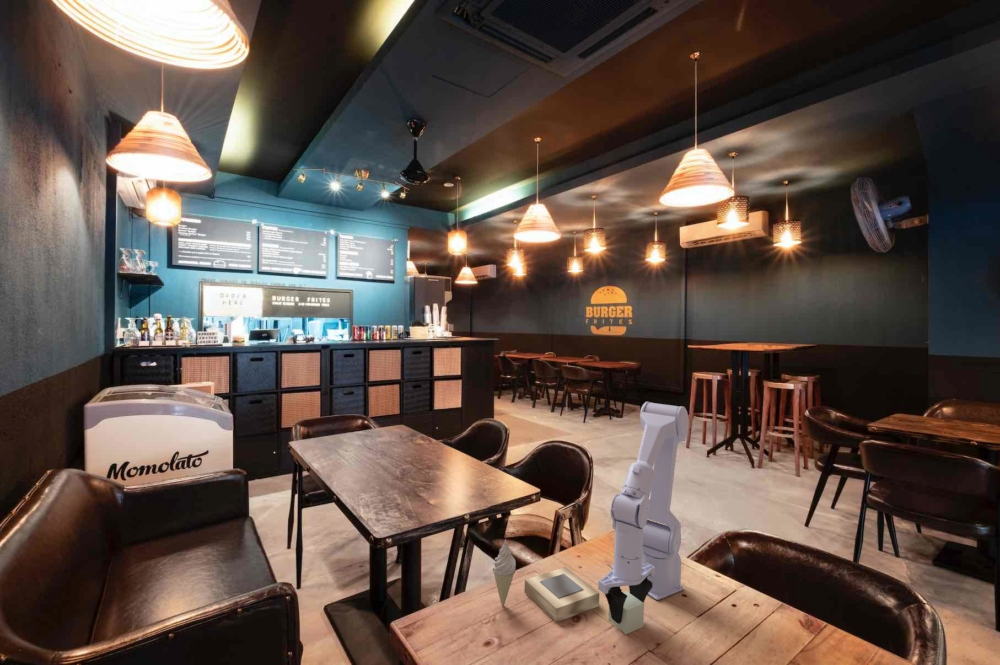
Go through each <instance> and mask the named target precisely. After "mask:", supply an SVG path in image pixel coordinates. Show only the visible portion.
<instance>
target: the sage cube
mask: <svg viewBox="0 0 1000 665" xmlns="http://www.w3.org/2000/svg"><path fill="white" fill-rule="evenodd" d="M622 592H623V593H624V594H626V595H627V598H626V600H625V603H624V606H623V613H622V621H621V623H619V624H618V623H616V622H615V621H614V620H613V619H612V618H611V612H610V608H609V607H608V621H609V622H610V623H611V624H613V625H614V626H615V627H616V628H617V629H618V630H620V631H621V632H622V633H623V634H625V635H628V634H630V633H632V632H634V631H637V630H639V629H642V628H643V627H644V618H645V617H644V616H645V614H644V613H645V612H644V611H645V602H644V603H643V602H641V601H640V600H639V599H637V598H636V597H634V596H633V595H632V594H630V591H627V590H625V591H622Z"/></svg>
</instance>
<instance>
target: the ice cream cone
mask: <svg viewBox="0 0 1000 665" xmlns="http://www.w3.org/2000/svg"><path fill="white" fill-rule="evenodd" d="M498 552H499V553H498V554H497V557H495V558H494V560H495V562H493V565H494V566H493V567H492V572H493V575H494V580H495V583H496V587H497V592H498V596H499V600H500V605H501V607H504V606H505V604H506V601H507V597H508V594H509V591H510V587H511V585H512V581H513V578H514V574H515V573H516V565H517V564H516V563H517V562H516V559H515V558H514V557H513V555H512V550H511V549H510V547H509V544H508V542H507V539H506V538H505V539H504V541H503V544H502V546H501V547H500V549H499V551H498Z"/></svg>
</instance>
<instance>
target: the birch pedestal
mask: <svg viewBox="0 0 1000 665" xmlns="http://www.w3.org/2000/svg"><path fill="white" fill-rule="evenodd" d="M523 593H525V594H526V596H528V597H529V598H530V599H531V600H532V601H533V602H534V604H536V605H537V606H538V607H539V608H540V609H541V610H542V611H543V612H544V613H545V614H546V615H547V616H548V617H550V619H551V620H552V621H553V622H555V623H559V622H561V621H564V620H567V619H569V618H572V617H574V616H576V615H579V614H583V613H584V612H588V611H589V610H592V609H596V608H597V607H599V606H600V592H599V591H598V590H597V589H595V588H594V587H592V586H591V585H590V584H589V583H587V581H585V580H584V579H582V577H581V578H580V577H579V575H577V574H576V573H574V571H571V569H569V568H568V567H566V566H564V567H562V568H557V569H555V570H551V571H548V572H544V573H541V574H538V575H535V576H533V577H529V578H526V579H524V592H523Z"/></svg>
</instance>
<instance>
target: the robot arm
mask: <svg viewBox="0 0 1000 665" xmlns="http://www.w3.org/2000/svg"><path fill="white" fill-rule="evenodd" d="M639 413H640V414H639V419H640V421H639V422H640V425H641V429H642V431H643V433H642V436H641V441H640V446H639V450H638V454H637V458H636V461H634V462H632V463H631V464H629V466H628V470H627V472H626V476H625V478H624V481H623V484H622V486H621V490H620V493H619V494H616V495H614V497H613V498H612V501H611V506H610V517H611V520H612V529H614V548H613V550H614V551H613V564H612V565H611V567H610V569H611V571H609V572H608V573H607V574H606V575H605V576H603V578H601V579H599V580H598V582H597V584H598V586H597V587H598V588H597V589H598V590H599V591H600V592H601V593H602V594H604V596H605V599H606V601H607V605H608V609H609V608H610V612H611V618H612V619H613V620H614V621H615V622H616V623H618V624H619V623H621V621H622V613H623V606H624V603H625V600H626V598H627V595H626V594H624V593H623V592H624V591H622V588H621V587H628V590H629V591H628V592H629V593H630V594H632V595H633V596H634V597H636V598H637V599H639V600H640V601H641V602H643V603H644V604H645V600H646V598H647V596H649V597H651V598H653V599H654V600H655V601H659V600H662V599H664V598H667V597H668V596H671V595H674V594H676V593H678V592H680V591H683V590H684V586H682V585H681V580H682V579H681V578H682V559H681V556H680V554H679V551H680V550H681V549H680V548H681V545H682V544H681V543H682V533H681V532H682V530H681V529H682V525H681V522H680V520H679V519H678V518H677V517H676V515H675V514H674V513H673V512H672V511H671V504H672V503H671V502H672V497H673V496H672V495H673V487H674V480H675V478H674V477H675V470H676V469H675V467H676V461H677V460H676V459H677V452H678V446H679V443H682V442H685V441H686V439H687V435H688V426H689V425H688V423H689V414H688V411H687V409H686V407H685V406H681V405H680V406H678V405H671V404H662V403H656V402H655V403H654V402H650V401H645V402H644V403H643V404H642V406H641V409H640V412H639Z"/></svg>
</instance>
